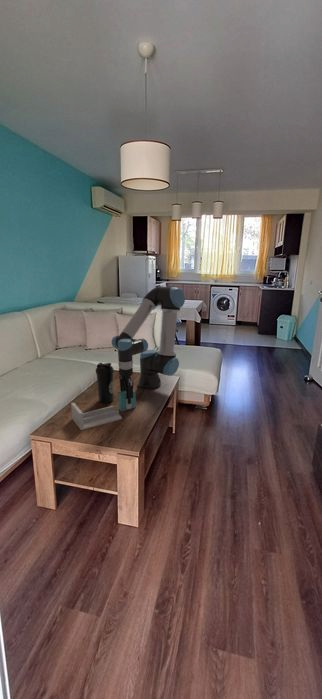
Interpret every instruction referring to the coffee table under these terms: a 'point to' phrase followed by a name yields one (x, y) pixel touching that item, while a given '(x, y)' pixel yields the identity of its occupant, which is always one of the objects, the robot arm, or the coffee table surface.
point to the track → (94, 416)
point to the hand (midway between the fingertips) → (127, 407)
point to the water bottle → (105, 382)
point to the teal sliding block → (122, 400)
